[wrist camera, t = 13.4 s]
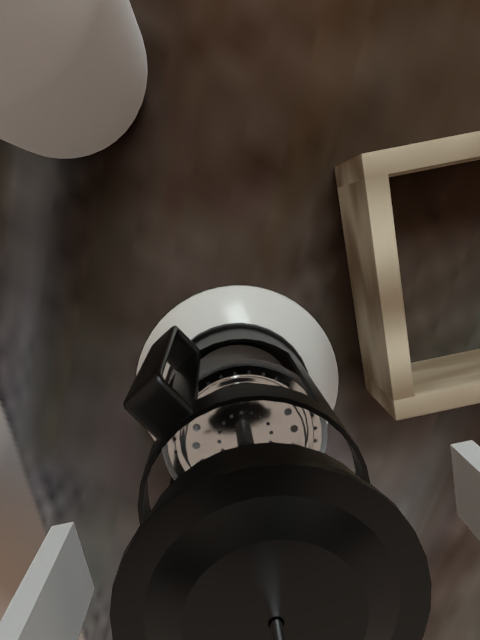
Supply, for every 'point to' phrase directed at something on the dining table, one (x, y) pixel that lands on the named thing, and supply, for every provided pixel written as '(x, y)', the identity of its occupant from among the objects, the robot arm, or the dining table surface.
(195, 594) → the french press
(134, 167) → the dining table surface
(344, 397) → the dining table surface
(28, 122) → the wine bottle
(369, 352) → the holder
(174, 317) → the trivet
